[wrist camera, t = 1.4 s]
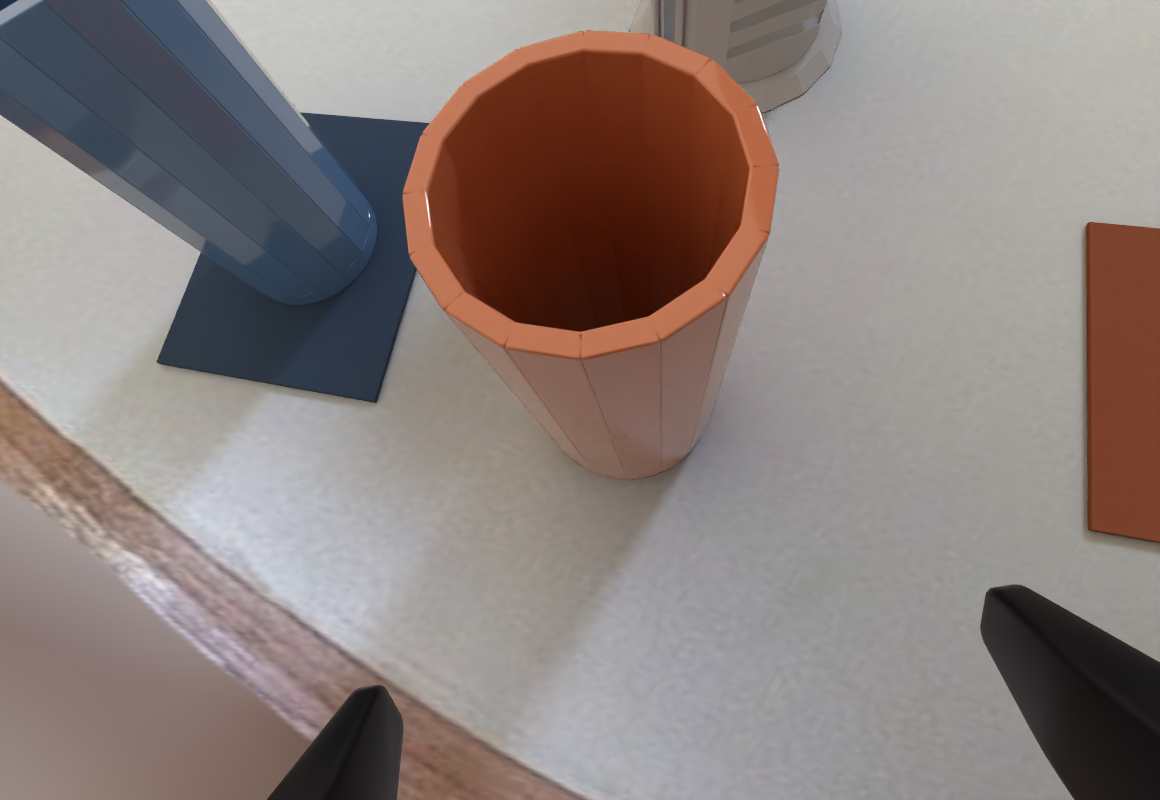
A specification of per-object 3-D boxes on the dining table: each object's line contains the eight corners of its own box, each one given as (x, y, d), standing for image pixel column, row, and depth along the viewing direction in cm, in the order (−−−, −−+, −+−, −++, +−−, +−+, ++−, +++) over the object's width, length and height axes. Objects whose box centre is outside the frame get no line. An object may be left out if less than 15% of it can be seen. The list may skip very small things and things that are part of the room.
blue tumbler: (353, 314, 26) (33, 52, 13) (225, 295, 27) (-189, 37, 14) (394, 187, 28) (148, -164, 14) (272, 174, 29) (-60, -162, 16)
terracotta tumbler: (696, 494, 22) (749, 385, 9) (530, 463, 23) (357, 325, 10) (721, 334, 24) (797, 38, 11) (565, 312, 25) (455, 21, 12)
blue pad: (376, 402, 25) (374, 401, 25) (159, 363, 27) (156, 362, 27) (459, 128, 28) (457, 125, 28) (261, 111, 30) (258, 108, 30)
